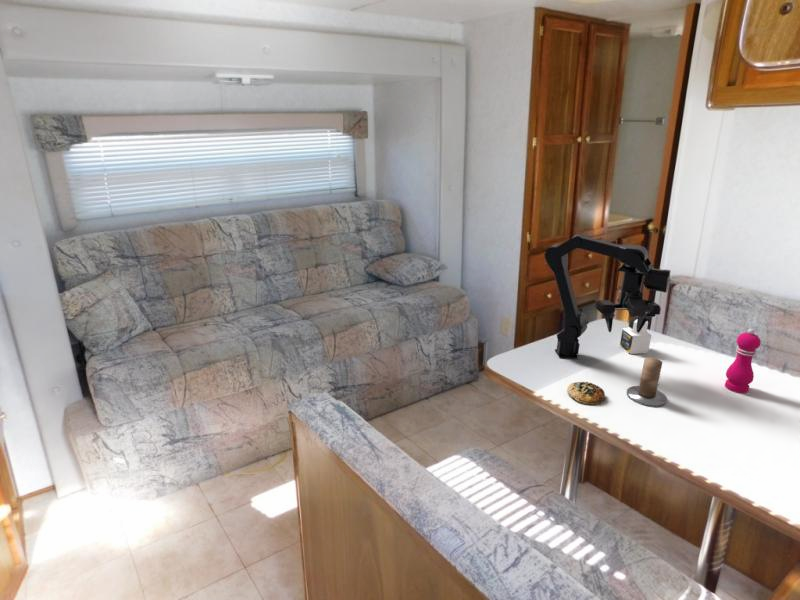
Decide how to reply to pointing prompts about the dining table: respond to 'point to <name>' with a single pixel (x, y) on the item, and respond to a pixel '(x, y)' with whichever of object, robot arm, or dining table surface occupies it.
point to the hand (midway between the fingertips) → (623, 332)
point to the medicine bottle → (635, 338)
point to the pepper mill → (742, 363)
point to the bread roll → (586, 393)
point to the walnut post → (650, 378)
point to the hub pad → (655, 402)
